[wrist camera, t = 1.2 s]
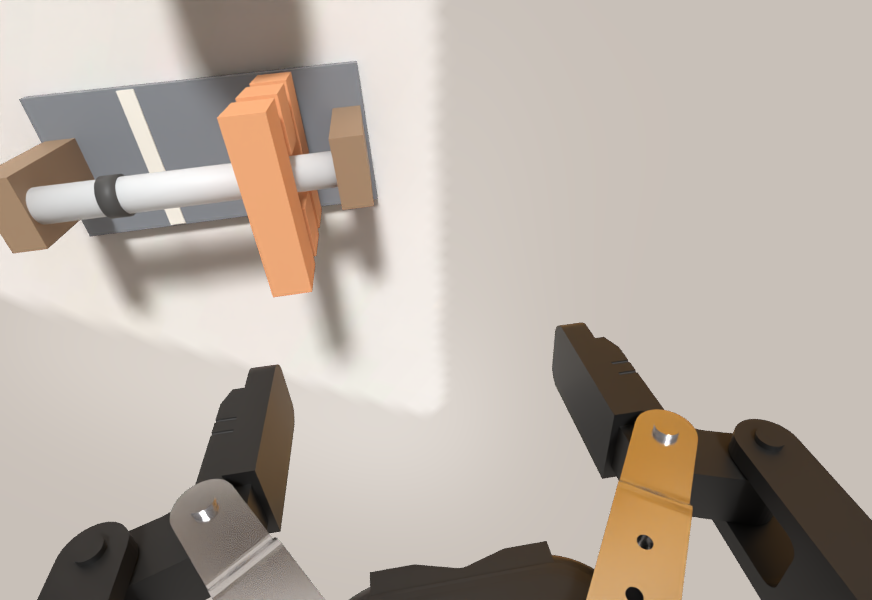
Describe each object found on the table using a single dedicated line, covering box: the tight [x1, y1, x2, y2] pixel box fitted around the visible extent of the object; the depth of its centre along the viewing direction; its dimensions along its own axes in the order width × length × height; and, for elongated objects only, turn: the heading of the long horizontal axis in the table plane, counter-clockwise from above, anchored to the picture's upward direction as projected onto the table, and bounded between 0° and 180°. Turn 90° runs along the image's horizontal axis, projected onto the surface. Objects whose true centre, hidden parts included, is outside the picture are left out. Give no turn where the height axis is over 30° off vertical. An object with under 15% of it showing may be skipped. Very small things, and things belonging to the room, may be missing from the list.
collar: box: [217, 72, 322, 297], centre depth 28 cm, size 2×9×11 cm, turn 5°
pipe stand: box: [0, 61, 378, 253], centre depth 30 cm, size 20×9×8 cm, turn 95°
